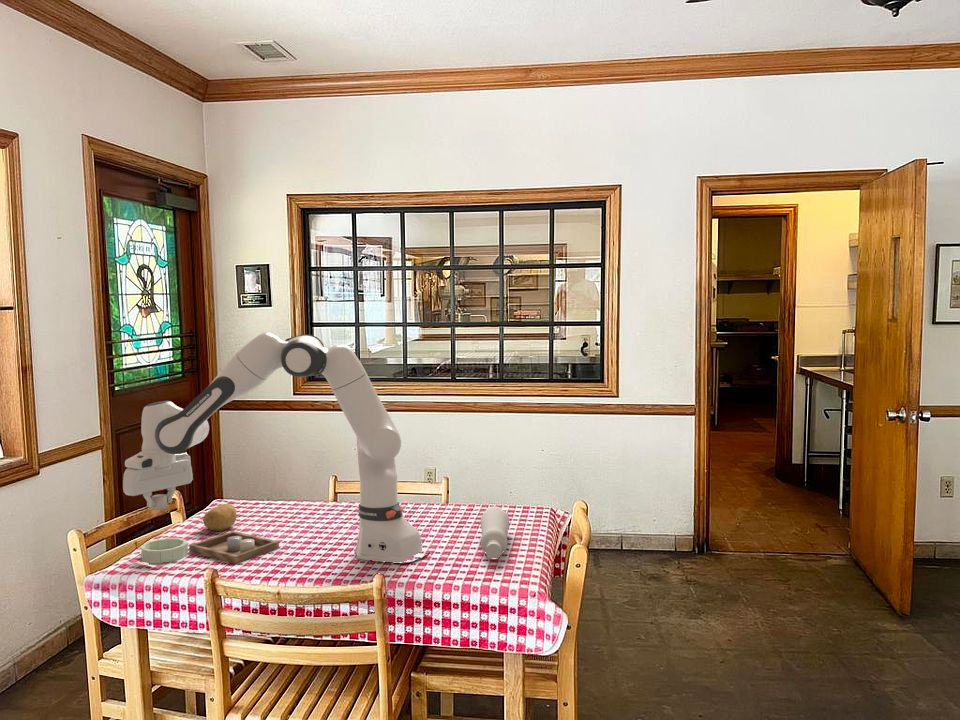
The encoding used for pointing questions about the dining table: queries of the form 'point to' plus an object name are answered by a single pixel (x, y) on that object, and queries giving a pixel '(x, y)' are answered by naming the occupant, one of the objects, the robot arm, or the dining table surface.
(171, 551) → the bowl
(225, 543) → the tray
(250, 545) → the pebble
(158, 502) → the pebble
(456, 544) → the dining table surface
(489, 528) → the bottle
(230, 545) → the pebble
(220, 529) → the potato
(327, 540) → the dining table surface
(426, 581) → the dining table surface
